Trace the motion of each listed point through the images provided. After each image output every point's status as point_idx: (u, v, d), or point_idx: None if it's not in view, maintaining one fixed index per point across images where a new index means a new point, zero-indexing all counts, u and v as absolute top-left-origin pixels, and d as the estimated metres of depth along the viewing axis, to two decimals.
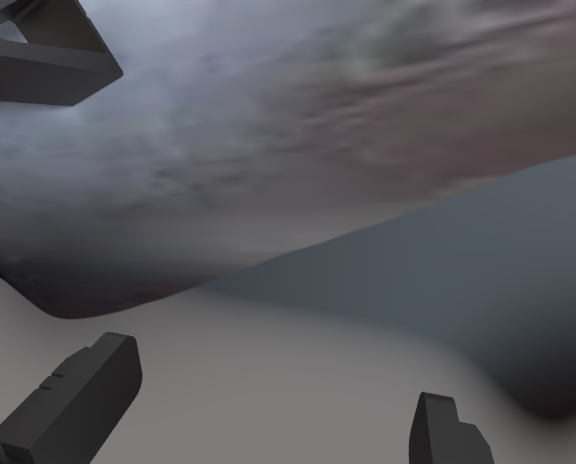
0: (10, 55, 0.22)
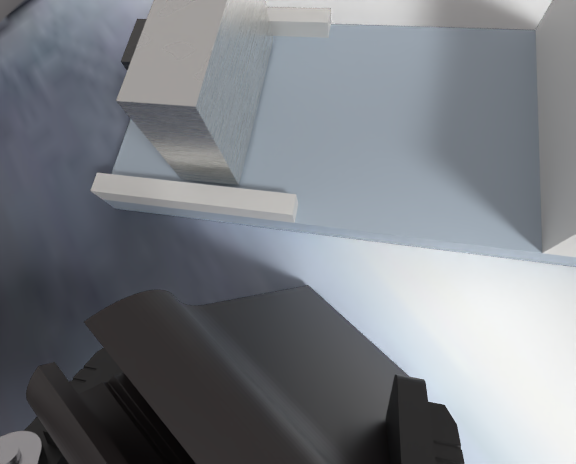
0: None
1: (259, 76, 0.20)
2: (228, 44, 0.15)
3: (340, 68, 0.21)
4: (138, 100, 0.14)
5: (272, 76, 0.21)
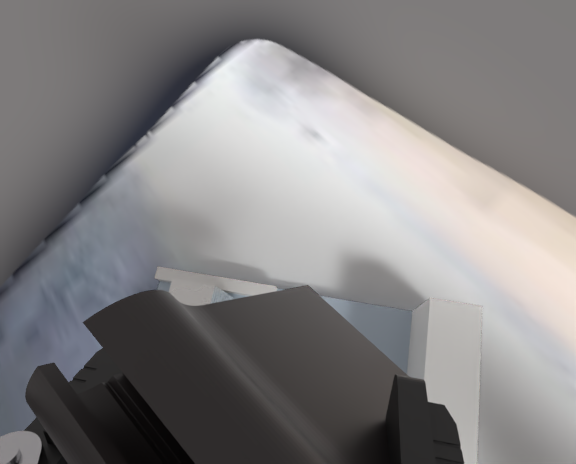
0: None
1: None
2: None
3: None
4: None
5: None
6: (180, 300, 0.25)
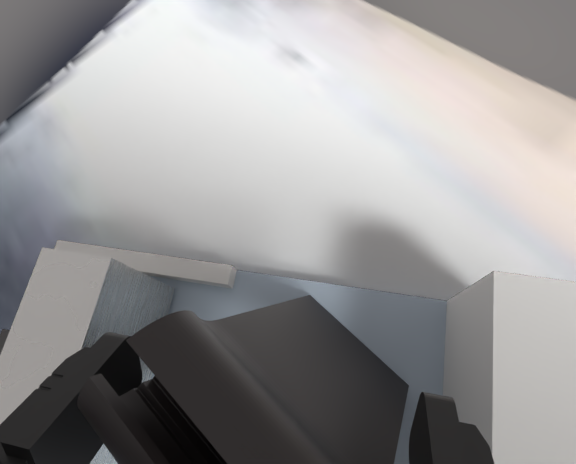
0: None
1: None
2: None
3: None
4: None
5: None
6: (51, 284, 0.14)
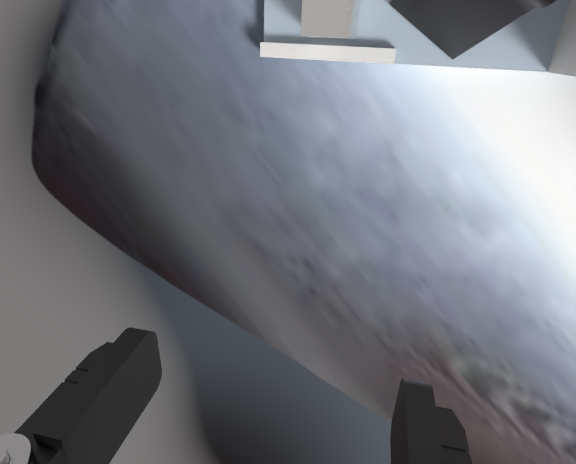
0: (527, 11, 0.19)
1: None
2: None
3: None
4: (314, 34, 0.23)
5: None
6: None
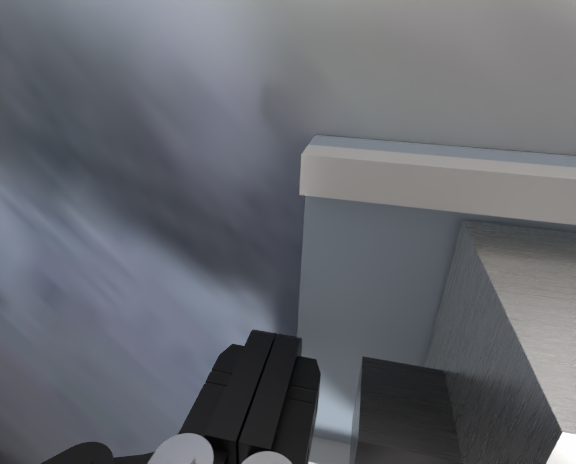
0: None
1: None
2: None
3: None
4: None
5: None
6: None
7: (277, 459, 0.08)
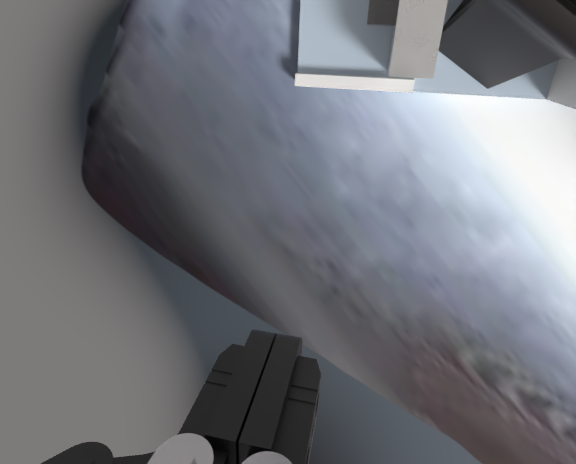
0: (560, 58, 0.23)
1: None
2: None
3: None
4: (401, 76, 0.27)
5: None
6: None
7: (277, 459, 0.08)
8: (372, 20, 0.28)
